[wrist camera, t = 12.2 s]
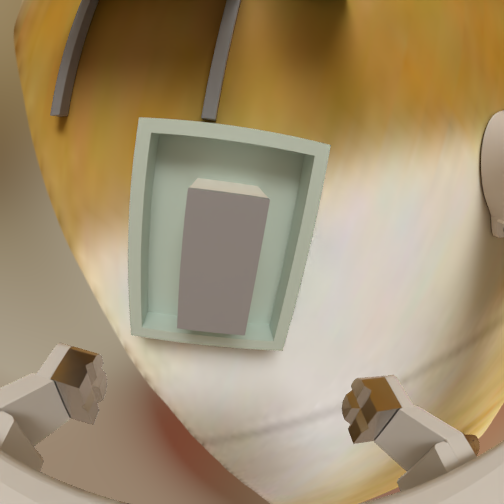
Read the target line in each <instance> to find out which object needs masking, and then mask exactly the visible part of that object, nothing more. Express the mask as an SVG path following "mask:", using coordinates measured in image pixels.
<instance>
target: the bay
mask: <svg viewBox="0 0 504 504" xmlns="http://www.w3.org/2000/svg"><path fill="white" fill-rule="evenodd" d="M98 1H99V0H82V1H81V3H80V6H79V8H78V11H77V14H76V16H75V19H74V22H73V25H72V28H71V31H70V34H69V37H68V40H67V43H66V46H65V50H64V53H63V57H62V61H61V65H60V69H59V73H58V77H57V82H56V86H55V91H54V97H53V102H52V108H51V114H50V116H58V117H60V116H68V112H69V106H70V101H71V95H72V90H73V85H74V80H75V76H76V72H77V67H78V63H79V59H80V56H81V52H82V48H83V45H84V42H85V38H86V35H87V32H88V29H89V26H90V23H91V20H92V17H93V14H94V12H95V9H96V6H97V4H98ZM240 3H241V0H227V2H226V6H225V9H224V13H223V17H222V21H221V25H220V29H219V33H218V38H217V42H216V46H215V51H214V55H213V60H212V65H211V69H210V74H209V79H208V84H207V89H206V95H205V100H204V106H203V111H202V117H201V118H202V119H203V120H210V121H216V117H217V112H218V106H219V101H220V95H221V90H222V84H223V79H224V74H225V69H226V64H227V59H228V55H229V50H230V45H231V41H232V36H233V32H234V28H235V23H236V19H237V15H238V11H239V7H240Z"/></svg>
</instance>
